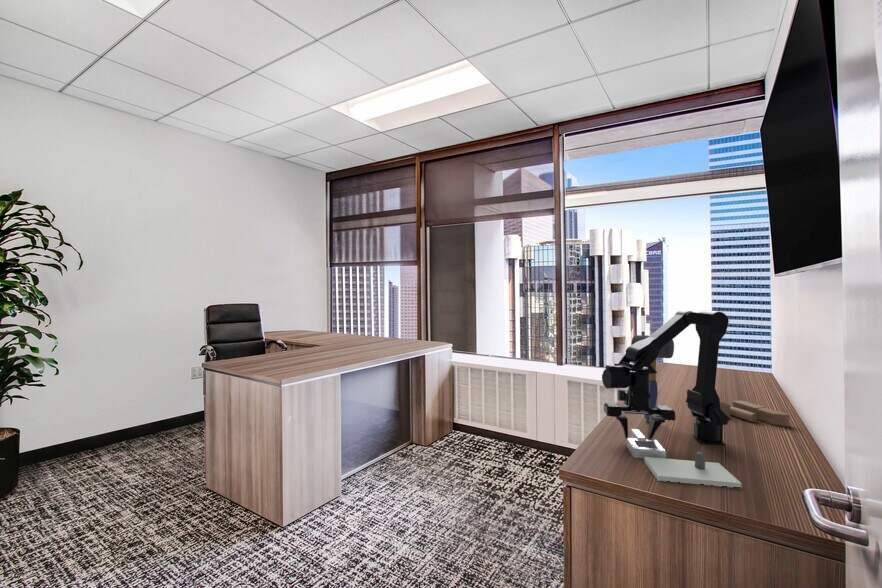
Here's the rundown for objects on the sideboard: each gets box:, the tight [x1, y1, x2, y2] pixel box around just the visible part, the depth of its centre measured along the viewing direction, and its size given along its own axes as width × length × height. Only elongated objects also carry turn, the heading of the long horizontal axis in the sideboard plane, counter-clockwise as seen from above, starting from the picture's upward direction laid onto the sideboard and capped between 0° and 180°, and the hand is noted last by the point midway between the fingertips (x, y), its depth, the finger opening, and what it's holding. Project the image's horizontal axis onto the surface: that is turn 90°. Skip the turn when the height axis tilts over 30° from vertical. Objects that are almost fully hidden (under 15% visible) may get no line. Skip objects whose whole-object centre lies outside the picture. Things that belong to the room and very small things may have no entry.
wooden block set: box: [720, 400, 790, 427], centre depth 144 cm, size 17×6×18 cm
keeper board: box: [643, 451, 742, 488], centre depth 102 cm, size 18×11×5 cm, turn 79°
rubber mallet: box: [630, 334, 675, 422], centre depth 141 cm, size 12×8×30 cm, turn 46°
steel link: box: [626, 428, 667, 459], centre depth 118 cm, size 14×8×3 cm, turn 169°
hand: (637, 439), depth 122 cm, fingers open, 6 cm apart
